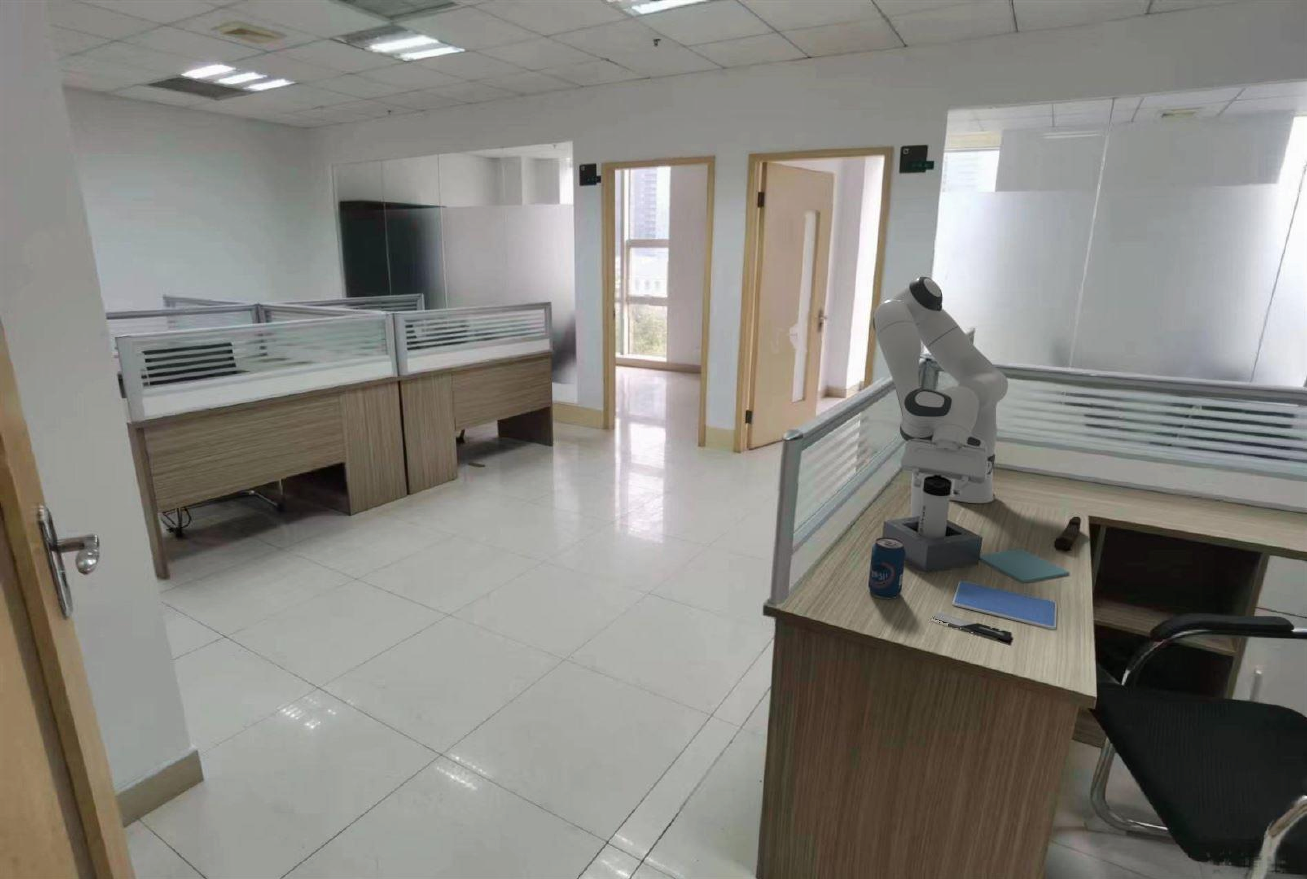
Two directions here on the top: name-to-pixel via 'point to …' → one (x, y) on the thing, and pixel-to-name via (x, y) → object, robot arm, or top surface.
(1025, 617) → the tablet computer
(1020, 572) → the rubber mat
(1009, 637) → the knife
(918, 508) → the white tall cylinder
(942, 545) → the square collar
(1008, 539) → the top surface
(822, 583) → the top surface
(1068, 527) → the hand tool
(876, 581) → the soda can
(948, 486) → the travel mug
